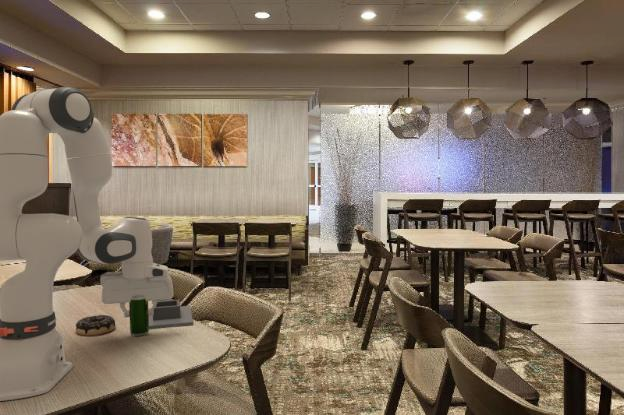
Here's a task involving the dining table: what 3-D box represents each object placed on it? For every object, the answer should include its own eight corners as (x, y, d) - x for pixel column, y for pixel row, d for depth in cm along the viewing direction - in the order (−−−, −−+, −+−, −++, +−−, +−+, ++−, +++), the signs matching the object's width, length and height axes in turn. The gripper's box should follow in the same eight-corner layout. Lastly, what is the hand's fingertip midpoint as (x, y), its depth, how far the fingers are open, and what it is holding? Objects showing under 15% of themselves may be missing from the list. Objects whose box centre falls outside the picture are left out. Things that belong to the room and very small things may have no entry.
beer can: (132, 337, 142) (131, 297, 141) (128, 332, 147) (127, 293, 146) (151, 334, 145) (149, 294, 144) (146, 329, 150) (145, 291, 149)
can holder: (193, 324, 155) (192, 309, 154) (140, 330, 150) (139, 314, 150) (190, 308, 174) (190, 294, 174) (143, 312, 169) (142, 298, 169)
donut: (100, 323, 158) (99, 311, 158) (123, 329, 152) (123, 316, 152) (68, 333, 149) (67, 320, 149) (92, 339, 143) (91, 326, 142)
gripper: (98, 274, 139) (100, 321, 140) (172, 270, 144) (173, 315, 145) (101, 270, 145) (103, 315, 146) (172, 266, 150) (174, 310, 151)
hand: (139, 315), depth 146 cm, fingers closed on beer can, 5 cm apart
